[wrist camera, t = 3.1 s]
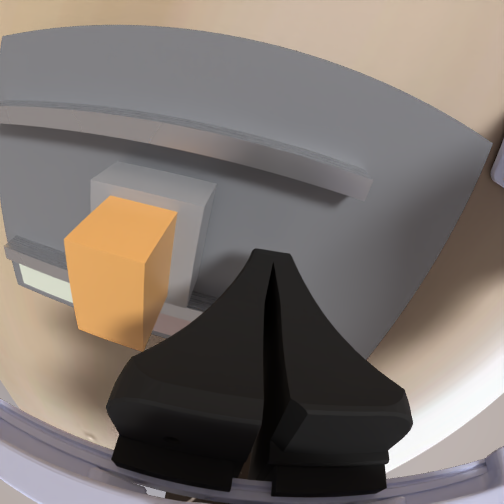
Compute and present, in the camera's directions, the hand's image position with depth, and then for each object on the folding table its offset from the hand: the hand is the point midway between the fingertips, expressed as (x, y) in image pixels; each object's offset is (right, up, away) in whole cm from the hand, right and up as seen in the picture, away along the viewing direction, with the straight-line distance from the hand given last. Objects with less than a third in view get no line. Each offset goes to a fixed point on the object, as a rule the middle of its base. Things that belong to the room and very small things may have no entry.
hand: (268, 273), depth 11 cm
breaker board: (-3, +3, +3) cm, 5 cm away
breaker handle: (-4, +2, +1) cm, 5 cm away
